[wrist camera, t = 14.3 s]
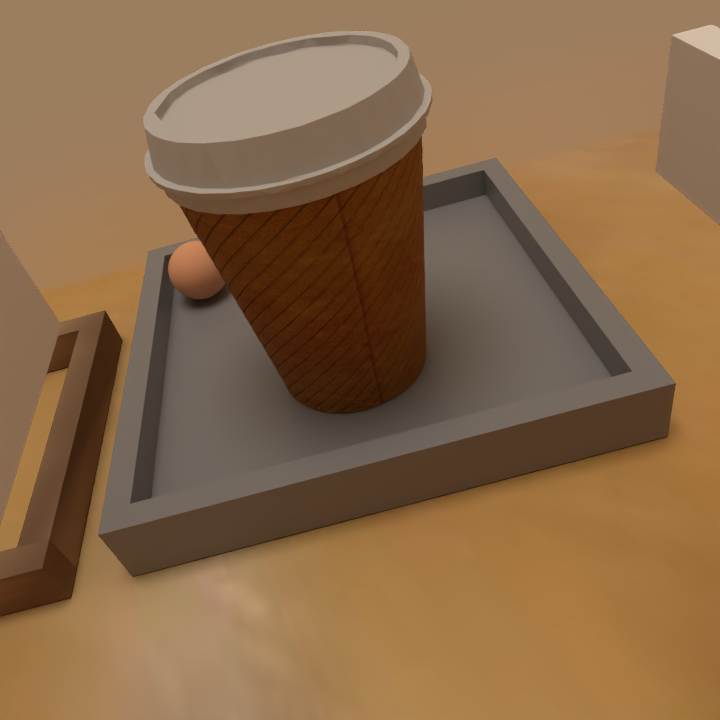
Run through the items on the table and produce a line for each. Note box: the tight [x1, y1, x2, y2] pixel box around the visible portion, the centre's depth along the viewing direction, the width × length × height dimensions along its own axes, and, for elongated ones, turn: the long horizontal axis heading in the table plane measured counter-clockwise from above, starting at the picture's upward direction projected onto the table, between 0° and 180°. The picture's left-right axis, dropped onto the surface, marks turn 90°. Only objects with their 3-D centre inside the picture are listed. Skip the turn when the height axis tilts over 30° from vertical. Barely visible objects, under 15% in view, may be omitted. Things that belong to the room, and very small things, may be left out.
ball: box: [168, 241, 225, 299], centre depth 34 cm, size 3×3×3 cm
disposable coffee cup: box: [143, 31, 432, 413], centre depth 24 cm, size 10×10×12 cm
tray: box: [98, 158, 676, 576], centre depth 30 cm, size 20×19×3 cm
